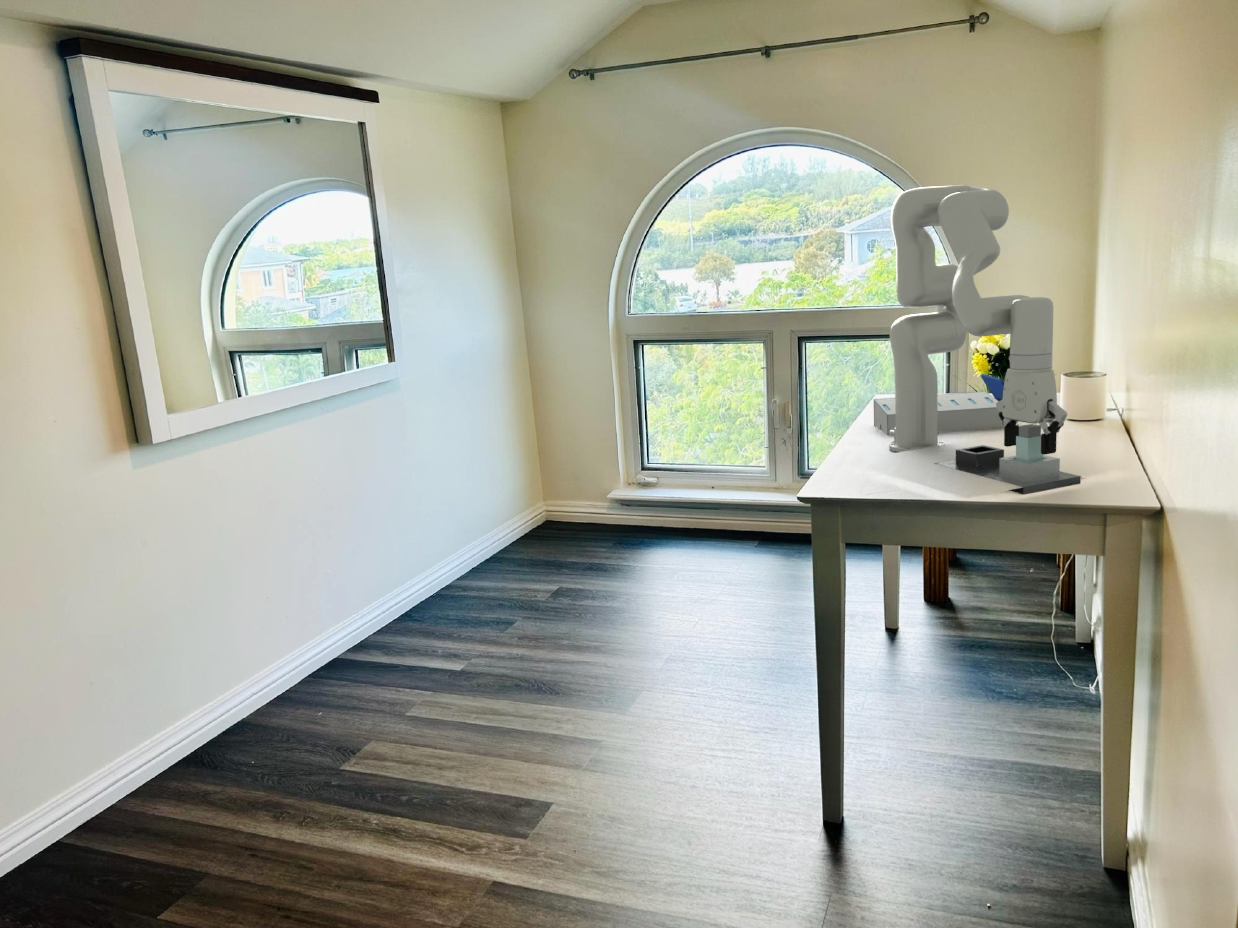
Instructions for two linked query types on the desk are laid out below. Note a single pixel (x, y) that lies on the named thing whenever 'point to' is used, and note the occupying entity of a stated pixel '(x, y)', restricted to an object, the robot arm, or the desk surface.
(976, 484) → the desk surface
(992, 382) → the handheld game console
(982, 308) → the robot arm
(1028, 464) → the panel
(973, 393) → the grey slotted box
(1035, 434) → the plug
